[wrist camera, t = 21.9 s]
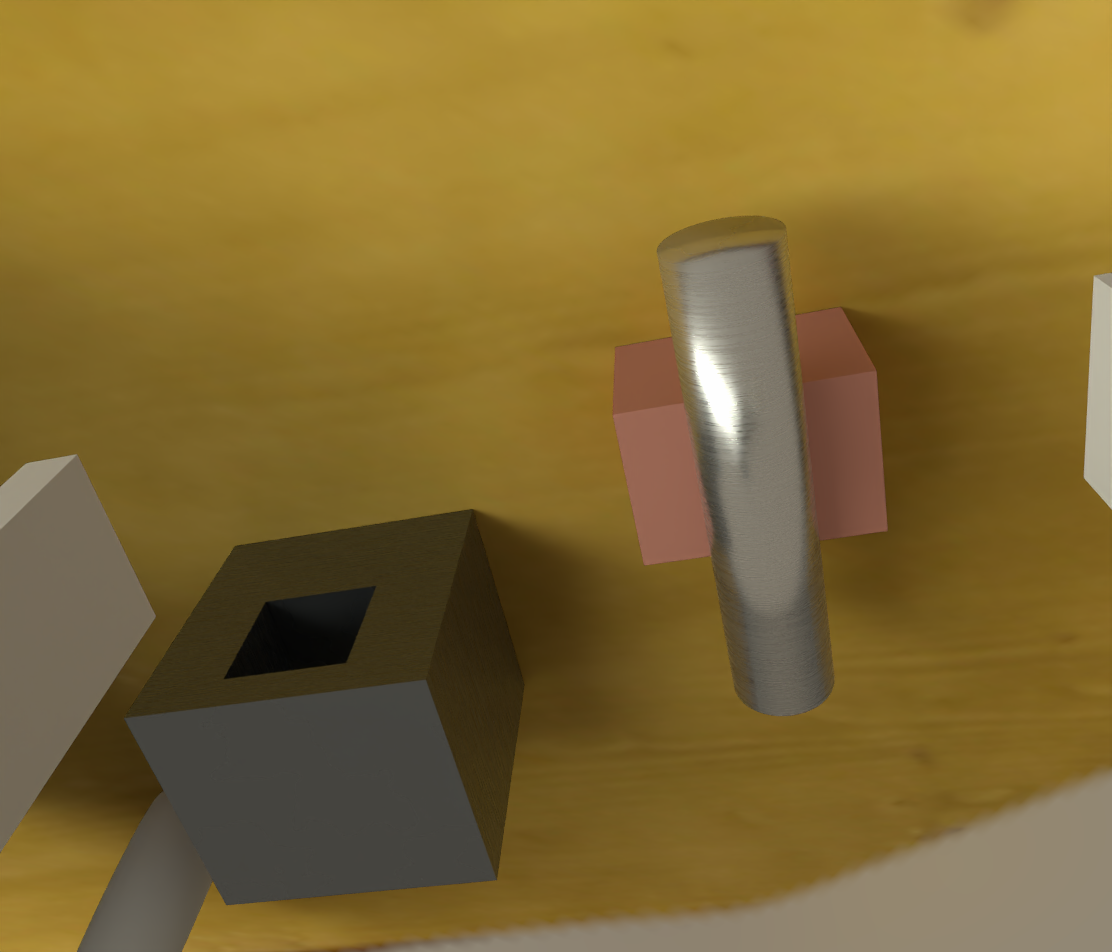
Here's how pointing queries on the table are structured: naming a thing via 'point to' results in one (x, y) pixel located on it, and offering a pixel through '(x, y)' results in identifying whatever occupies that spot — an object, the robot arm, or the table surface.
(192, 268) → the table surface
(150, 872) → the donut
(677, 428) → the v block
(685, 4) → the table surface
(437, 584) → the block with square hole
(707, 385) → the axle
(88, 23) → the table surface
